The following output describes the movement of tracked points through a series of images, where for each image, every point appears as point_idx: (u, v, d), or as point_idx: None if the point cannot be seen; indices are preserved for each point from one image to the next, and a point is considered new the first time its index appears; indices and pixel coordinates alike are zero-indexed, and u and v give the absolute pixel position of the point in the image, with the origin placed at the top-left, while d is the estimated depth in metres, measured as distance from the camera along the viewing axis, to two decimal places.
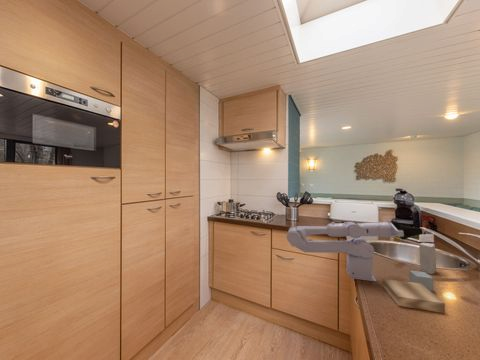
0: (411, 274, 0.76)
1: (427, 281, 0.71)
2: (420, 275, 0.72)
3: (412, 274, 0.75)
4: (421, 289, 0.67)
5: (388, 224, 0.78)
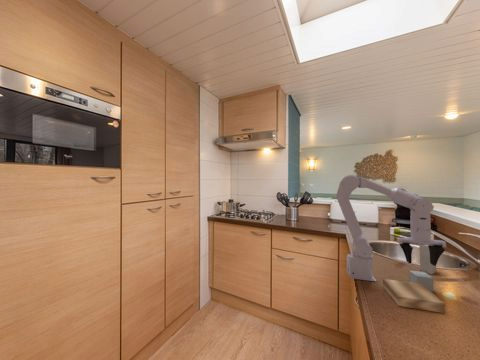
0: (411, 274, 0.75)
1: (427, 281, 0.71)
2: (420, 275, 0.72)
3: (412, 274, 0.75)
4: (421, 289, 0.67)
5: (419, 239, 0.72)
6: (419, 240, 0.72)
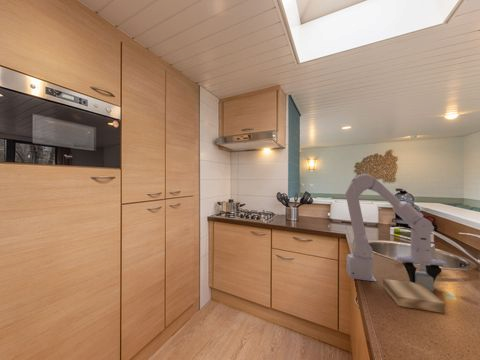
0: None
1: (427, 280, 0.71)
2: (420, 275, 0.72)
3: None
4: (421, 289, 0.67)
5: (419, 259, 0.72)
6: (419, 260, 0.72)
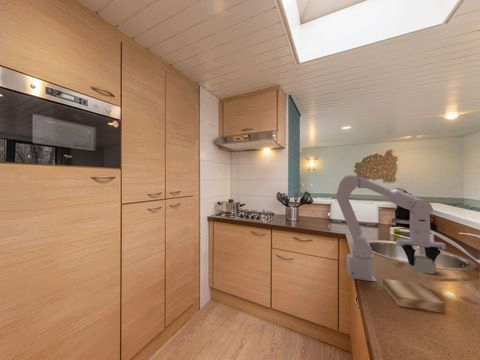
0: None
1: (426, 262, 0.71)
2: (419, 258, 0.72)
3: None
4: (421, 289, 0.67)
5: (418, 241, 0.72)
6: (418, 242, 0.72)
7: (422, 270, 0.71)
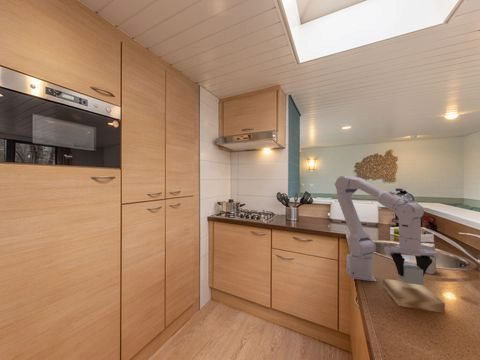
0: None
1: (416, 273, 0.64)
2: (408, 267, 0.65)
3: None
4: (421, 289, 0.67)
5: (408, 249, 0.65)
6: (408, 250, 0.65)
7: (412, 281, 0.64)
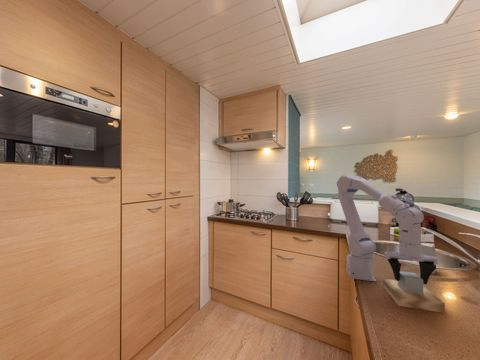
0: None
1: (416, 283, 0.64)
2: (409, 277, 0.65)
3: (400, 275, 0.68)
4: None
5: (408, 255, 0.65)
6: (408, 256, 0.65)
7: (412, 291, 0.64)
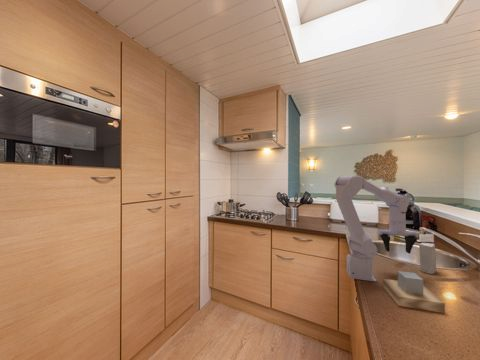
0: (399, 275, 0.68)
1: (416, 283, 0.64)
2: (409, 277, 0.65)
3: (400, 275, 0.68)
4: None
5: (395, 230, 0.83)
6: (395, 231, 0.83)
7: (412, 291, 0.64)
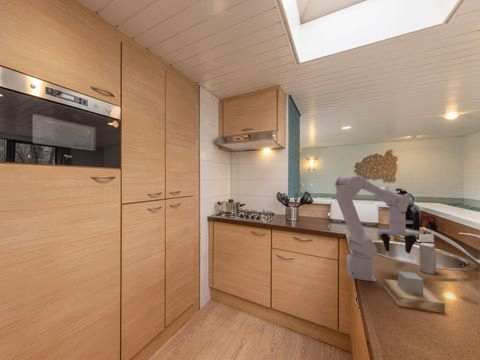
0: (399, 275, 0.68)
1: (416, 283, 0.64)
2: (409, 277, 0.65)
3: (400, 275, 0.68)
4: None
5: (395, 230, 0.83)
6: (395, 231, 0.83)
7: (412, 291, 0.64)
